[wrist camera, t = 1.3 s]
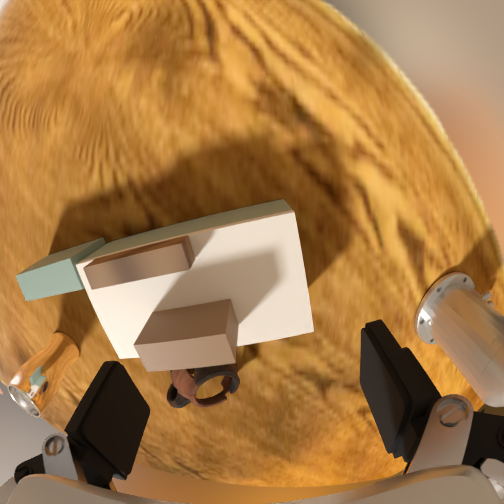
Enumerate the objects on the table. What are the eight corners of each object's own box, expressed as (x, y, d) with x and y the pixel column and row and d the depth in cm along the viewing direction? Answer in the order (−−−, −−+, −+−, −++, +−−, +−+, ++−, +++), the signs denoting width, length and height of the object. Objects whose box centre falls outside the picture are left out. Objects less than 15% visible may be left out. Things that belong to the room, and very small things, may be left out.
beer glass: (54, 353, 38) (14, 405, 24) (48, 324, 36) (0, 375, 22) (84, 366, 39) (47, 425, 25) (79, 337, 37) (33, 398, 22)
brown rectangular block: (188, 235, 23) (181, 243, 21) (195, 259, 23) (189, 269, 21) (95, 258, 24) (82, 267, 21) (103, 279, 24) (91, 289, 22)
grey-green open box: (282, 191, 30) (292, 202, 22) (301, 294, 34) (313, 330, 26) (48, 255, 32) (15, 275, 25) (80, 329, 36) (57, 358, 29)
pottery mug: (184, 319, 36) (207, 360, 29) (231, 338, 41) (259, 373, 35) (142, 378, 36) (158, 420, 29) (190, 389, 42) (211, 426, 35)
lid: (290, 207, 24) (307, 228, 17) (310, 319, 28) (325, 367, 21) (86, 257, 26) (44, 287, 19) (126, 347, 30) (102, 390, 22)
